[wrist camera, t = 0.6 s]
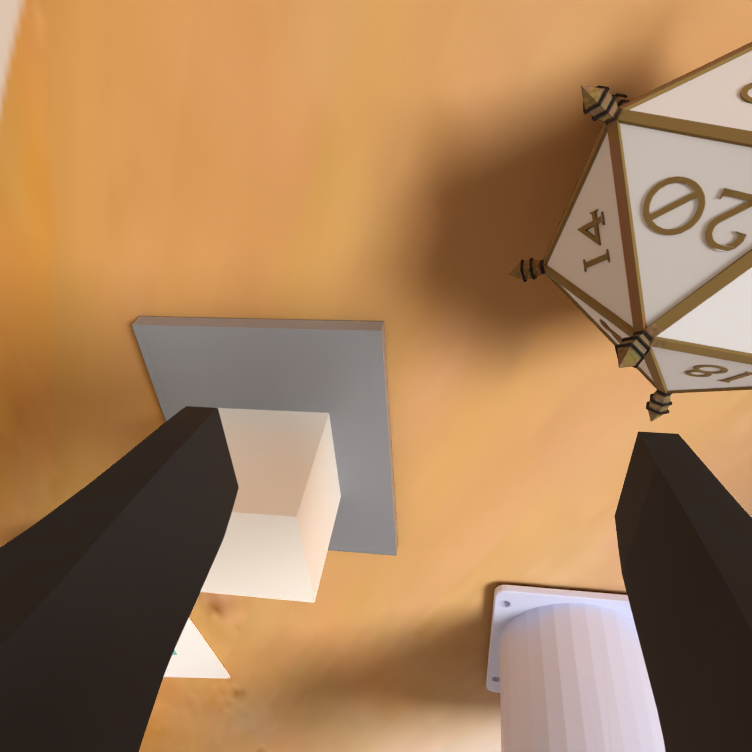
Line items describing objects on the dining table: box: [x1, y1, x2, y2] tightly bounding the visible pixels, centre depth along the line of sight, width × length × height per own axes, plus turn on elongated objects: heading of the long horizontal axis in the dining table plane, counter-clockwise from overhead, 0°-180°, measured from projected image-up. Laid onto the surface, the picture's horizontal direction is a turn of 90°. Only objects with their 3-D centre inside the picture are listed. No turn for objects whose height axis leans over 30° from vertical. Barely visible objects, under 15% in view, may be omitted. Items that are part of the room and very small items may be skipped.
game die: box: [510, 42, 752, 421], centre depth 13 cm, size 9×8×10 cm
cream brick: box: [200, 408, 341, 603], centre depth 22 cm, size 5×5×5 cm
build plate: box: [132, 316, 398, 556], centre depth 25 cm, size 12×9×1 cm
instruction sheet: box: [163, 618, 230, 678], centre depth 36 cm, size 10×7×1 cm
